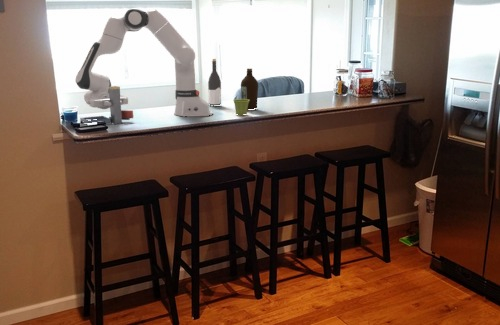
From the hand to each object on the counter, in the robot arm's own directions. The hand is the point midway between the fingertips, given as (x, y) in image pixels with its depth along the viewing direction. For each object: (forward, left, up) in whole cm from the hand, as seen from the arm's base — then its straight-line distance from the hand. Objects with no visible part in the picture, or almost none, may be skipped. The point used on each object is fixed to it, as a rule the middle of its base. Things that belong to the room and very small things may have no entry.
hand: (116, 103), depth 252 cm
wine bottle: (-48, -66, -11) cm, 82 cm away
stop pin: (+1, -1, -11) cm, 11 cm away
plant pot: (-65, -28, -11) cm, 71 cm away
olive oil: (-70, -49, -11) cm, 86 cm away
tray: (+12, -2, -11) cm, 16 cm away
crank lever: (-1, -6, -9) cm, 11 cm away
